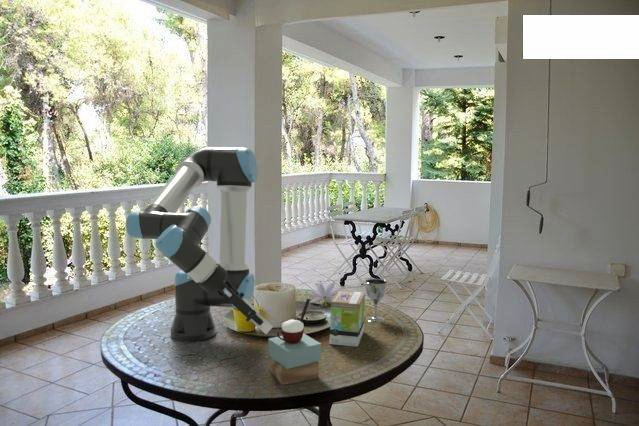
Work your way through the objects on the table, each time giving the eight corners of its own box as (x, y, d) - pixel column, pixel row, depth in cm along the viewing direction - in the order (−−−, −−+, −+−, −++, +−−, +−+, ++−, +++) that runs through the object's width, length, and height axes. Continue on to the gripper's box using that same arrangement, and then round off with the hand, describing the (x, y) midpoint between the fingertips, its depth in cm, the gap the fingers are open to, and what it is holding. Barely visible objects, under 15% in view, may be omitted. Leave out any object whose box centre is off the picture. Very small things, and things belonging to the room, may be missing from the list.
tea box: (359, 347, 166) (360, 303, 164) (328, 344, 168) (329, 301, 166) (364, 331, 181) (365, 291, 179) (336, 329, 183) (337, 289, 181)
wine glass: (389, 318, 195) (390, 280, 193) (380, 324, 188) (381, 285, 187) (370, 315, 199) (371, 277, 197) (361, 320, 193) (362, 281, 191)
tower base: (269, 369, 149) (269, 353, 148) (304, 364, 153) (304, 348, 153) (281, 385, 139) (281, 368, 138) (318, 379, 143) (318, 362, 143)
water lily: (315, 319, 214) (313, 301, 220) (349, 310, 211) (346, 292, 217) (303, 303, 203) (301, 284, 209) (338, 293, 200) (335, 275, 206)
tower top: (268, 355, 147) (268, 338, 146) (300, 347, 153) (301, 331, 152) (286, 369, 138) (287, 351, 137) (320, 360, 144) (321, 343, 143)
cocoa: (277, 346, 142) (274, 305, 140) (279, 337, 148) (277, 297, 146) (311, 345, 142) (309, 304, 140) (311, 336, 148) (310, 296, 146)
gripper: (190, 273, 145) (242, 318, 152) (204, 296, 122) (265, 348, 129) (209, 253, 146) (260, 299, 153) (226, 273, 123) (285, 326, 130)
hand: (262, 322), depth 141 cm, fingers open, 13 cm apart
